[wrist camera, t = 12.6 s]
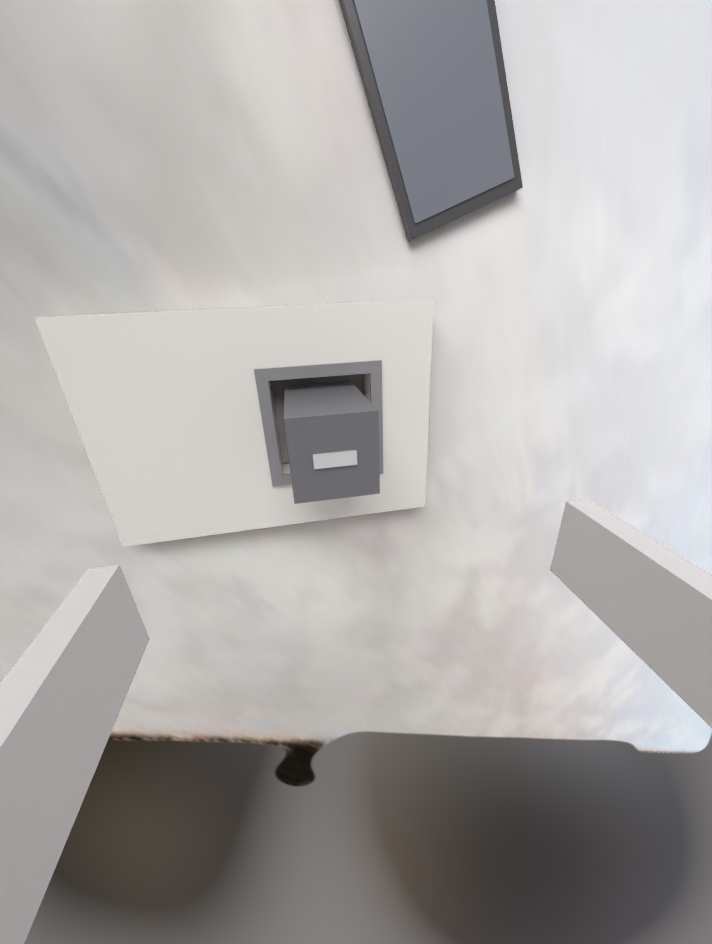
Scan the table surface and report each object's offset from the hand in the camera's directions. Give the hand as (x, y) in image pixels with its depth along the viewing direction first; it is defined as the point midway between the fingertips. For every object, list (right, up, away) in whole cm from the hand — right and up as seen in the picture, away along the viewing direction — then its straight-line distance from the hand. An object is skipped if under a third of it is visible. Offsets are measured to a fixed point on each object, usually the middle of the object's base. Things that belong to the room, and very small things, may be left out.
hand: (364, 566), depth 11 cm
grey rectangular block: (-3, +7, +17) cm, 19 cm away
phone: (+4, +26, +10) cm, 29 cm away
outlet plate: (-7, +7, +16) cm, 19 cm away
